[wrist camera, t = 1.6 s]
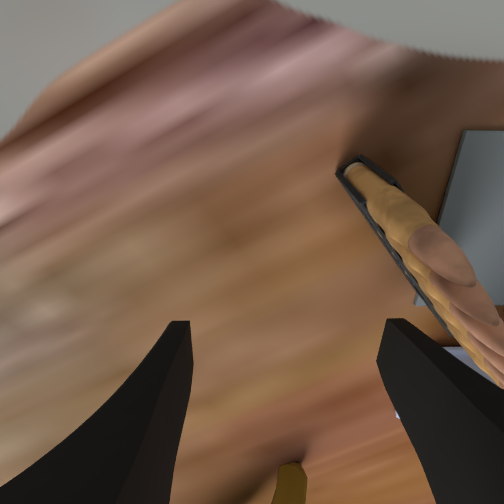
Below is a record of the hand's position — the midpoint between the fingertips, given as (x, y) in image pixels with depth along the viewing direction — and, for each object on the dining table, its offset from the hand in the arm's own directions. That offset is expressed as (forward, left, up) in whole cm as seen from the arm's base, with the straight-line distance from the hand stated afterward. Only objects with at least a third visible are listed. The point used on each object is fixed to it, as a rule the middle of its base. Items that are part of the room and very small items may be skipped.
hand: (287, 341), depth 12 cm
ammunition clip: (-8, 0, -10) cm, 13 cm away
